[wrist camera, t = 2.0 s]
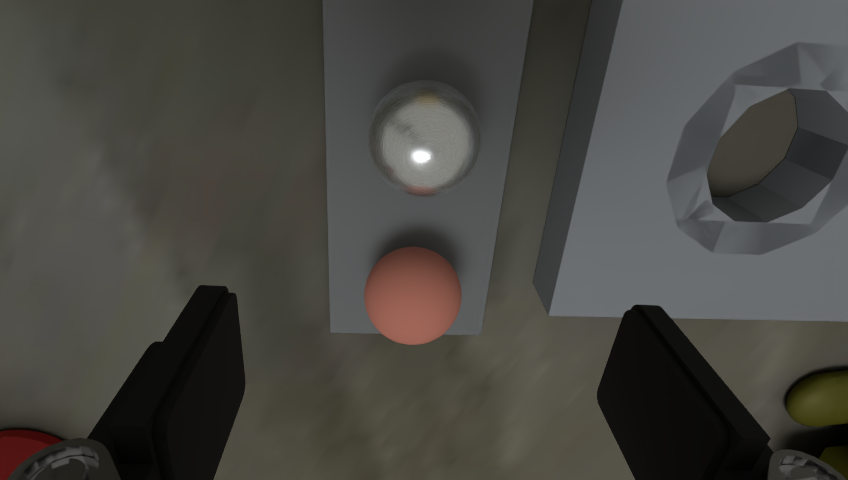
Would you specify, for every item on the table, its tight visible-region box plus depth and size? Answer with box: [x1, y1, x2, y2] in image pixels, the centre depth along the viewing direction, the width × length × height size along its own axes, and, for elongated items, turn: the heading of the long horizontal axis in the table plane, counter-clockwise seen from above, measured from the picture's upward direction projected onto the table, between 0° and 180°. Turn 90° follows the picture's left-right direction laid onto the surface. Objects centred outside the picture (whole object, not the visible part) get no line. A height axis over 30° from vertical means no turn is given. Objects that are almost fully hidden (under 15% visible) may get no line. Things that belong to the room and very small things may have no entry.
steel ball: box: [367, 80, 482, 197], centre depth 23 cm, size 6×6×6 cm
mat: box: [323, 0, 534, 335], centre depth 26 cm, size 28×10×1 cm, turn 176°
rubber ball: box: [364, 247, 462, 345], centre depth 28 cm, size 6×6×6 cm
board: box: [533, 0, 848, 321], centre depth 26 cm, size 20×20×4 cm
